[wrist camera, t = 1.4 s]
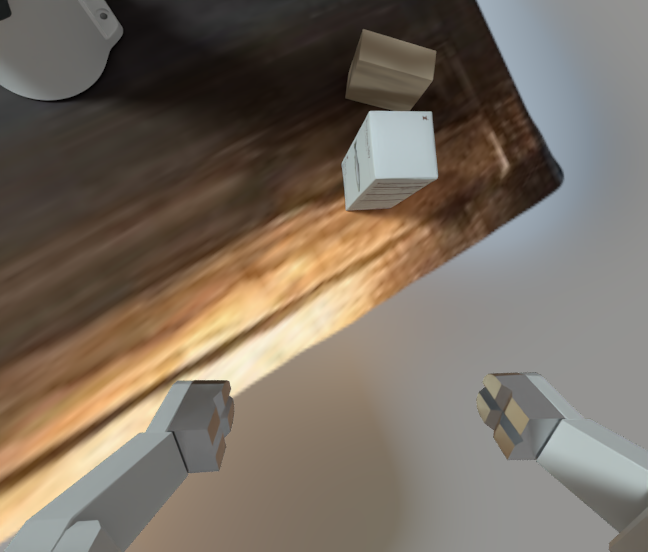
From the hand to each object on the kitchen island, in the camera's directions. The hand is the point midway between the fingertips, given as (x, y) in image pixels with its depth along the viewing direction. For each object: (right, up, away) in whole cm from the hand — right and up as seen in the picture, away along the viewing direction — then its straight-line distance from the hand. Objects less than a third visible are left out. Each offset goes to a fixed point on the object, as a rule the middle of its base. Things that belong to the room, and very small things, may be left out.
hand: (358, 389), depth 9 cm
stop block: (+7, +31, +32) cm, 46 cm away
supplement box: (+5, +17, +32) cm, 36 cm away
